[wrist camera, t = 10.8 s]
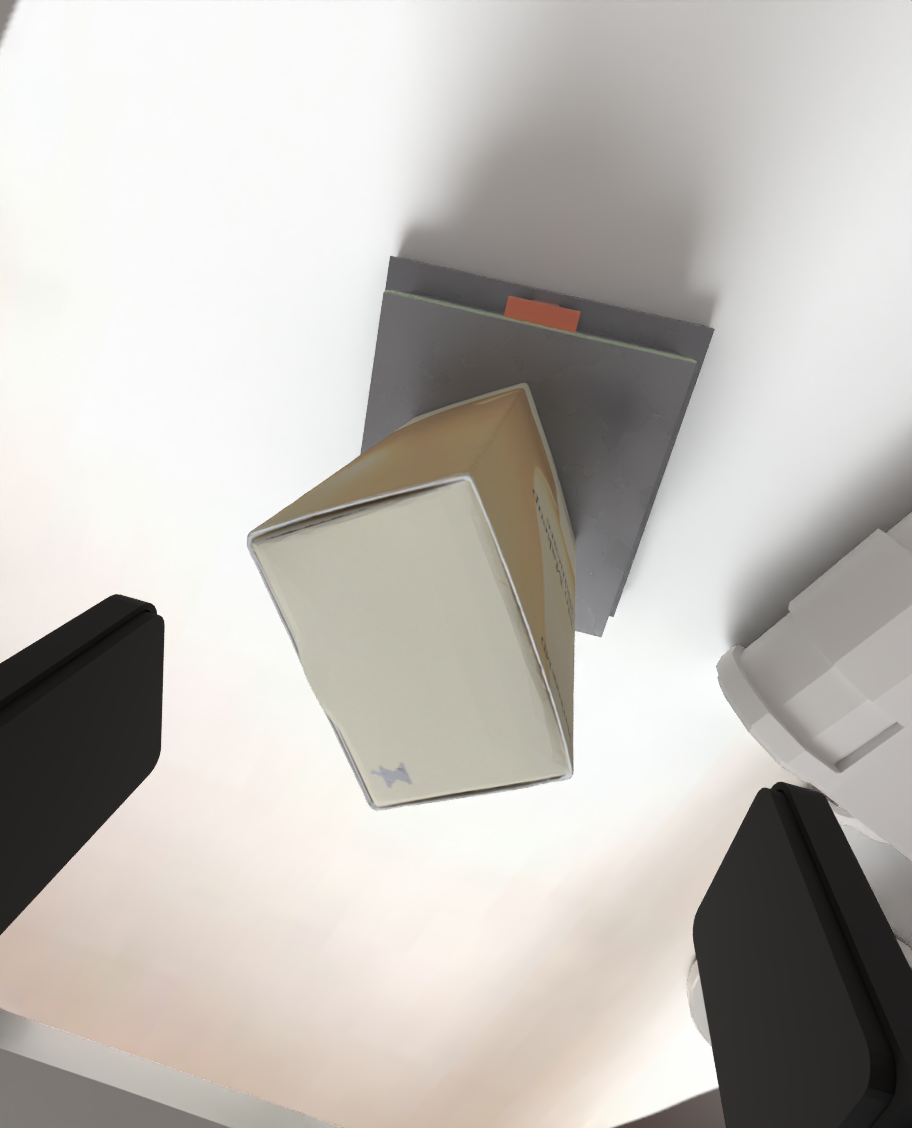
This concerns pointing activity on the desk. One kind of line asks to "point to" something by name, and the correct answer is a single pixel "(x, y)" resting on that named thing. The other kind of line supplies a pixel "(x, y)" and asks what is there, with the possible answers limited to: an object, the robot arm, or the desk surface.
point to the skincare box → (437, 604)
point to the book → (840, 687)
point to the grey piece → (547, 395)
